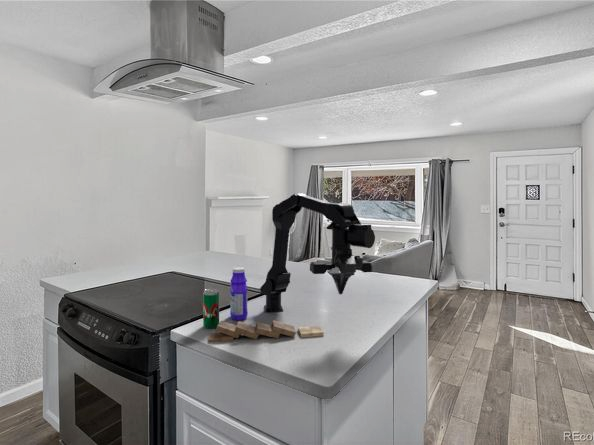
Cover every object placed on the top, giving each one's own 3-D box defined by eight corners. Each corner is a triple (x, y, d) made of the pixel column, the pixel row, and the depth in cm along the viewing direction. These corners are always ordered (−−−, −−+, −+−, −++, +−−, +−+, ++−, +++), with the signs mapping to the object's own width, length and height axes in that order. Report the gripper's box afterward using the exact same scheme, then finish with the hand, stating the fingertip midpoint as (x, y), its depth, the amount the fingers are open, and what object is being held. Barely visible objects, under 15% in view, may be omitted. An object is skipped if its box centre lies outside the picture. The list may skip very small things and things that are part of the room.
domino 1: (241, 332, 109) (220, 325, 109) (242, 327, 109) (221, 320, 109) (237, 338, 104) (215, 330, 104) (239, 333, 104) (217, 325, 104)
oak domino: (319, 331, 113) (297, 332, 111) (319, 326, 113) (297, 327, 111) (323, 337, 108) (301, 338, 106) (323, 332, 108) (301, 333, 106)
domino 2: (234, 336, 108) (210, 337, 107) (234, 331, 108) (210, 332, 107) (233, 343, 103) (208, 344, 102) (233, 338, 103) (208, 339, 102)
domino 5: (291, 330, 111) (271, 324, 110) (293, 326, 111) (272, 320, 110) (294, 337, 106) (272, 331, 105) (296, 332, 106) (274, 326, 105)
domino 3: (257, 333, 109) (236, 325, 109) (259, 328, 109) (238, 320, 109) (256, 339, 104) (234, 331, 104) (258, 334, 104) (236, 326, 104)
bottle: (228, 315, 125) (228, 266, 124) (244, 313, 128) (243, 265, 126) (233, 322, 119) (232, 271, 117) (249, 319, 121) (249, 269, 120)
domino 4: (276, 332, 110) (255, 326, 109) (278, 327, 110) (256, 321, 109) (278, 338, 106) (255, 333, 104) (279, 333, 105) (257, 328, 104)
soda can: (220, 323, 117) (220, 288, 116) (217, 329, 112) (217, 292, 111) (205, 323, 117) (204, 288, 116) (201, 329, 112) (201, 292, 111)
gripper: (318, 249, 99) (317, 303, 101) (380, 247, 103) (379, 300, 104) (309, 243, 110) (309, 292, 112) (366, 242, 114) (364, 290, 115)
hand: (340, 294), depth 110 cm, fingers closed
